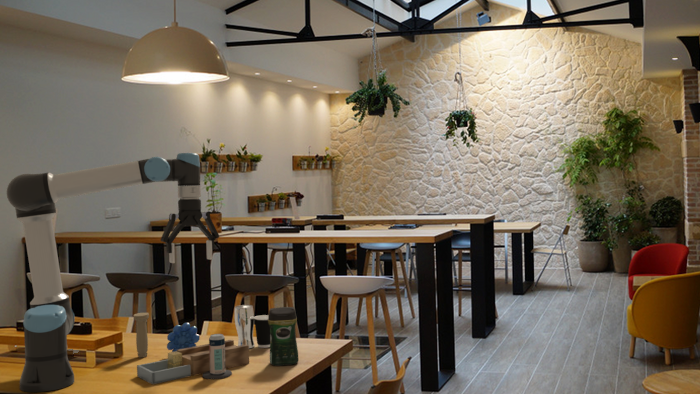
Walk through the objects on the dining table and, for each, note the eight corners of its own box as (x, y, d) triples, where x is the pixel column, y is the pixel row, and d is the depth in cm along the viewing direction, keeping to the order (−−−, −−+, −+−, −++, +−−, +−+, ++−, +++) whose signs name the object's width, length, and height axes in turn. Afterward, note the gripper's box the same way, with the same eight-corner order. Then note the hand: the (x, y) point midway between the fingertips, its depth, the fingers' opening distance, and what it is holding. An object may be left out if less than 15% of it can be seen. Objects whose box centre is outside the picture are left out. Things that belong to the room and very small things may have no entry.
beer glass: (234, 346, 246) (231, 306, 245) (252, 343, 249) (249, 303, 248) (239, 350, 239) (237, 309, 239) (258, 347, 242) (255, 306, 242)
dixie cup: (279, 346, 244) (279, 317, 244) (261, 349, 239) (260, 319, 239) (267, 342, 250) (267, 314, 250) (249, 346, 245) (249, 316, 245)
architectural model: (68, 360, 235) (67, 339, 234) (67, 355, 241) (67, 335, 241) (79, 358, 236) (78, 337, 236) (78, 354, 242) (77, 334, 242)
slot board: (193, 375, 209) (193, 356, 209) (177, 368, 218) (176, 349, 218) (249, 363, 222) (248, 345, 221) (231, 356, 231) (230, 339, 231)
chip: (182, 372, 210) (173, 374, 208) (176, 370, 213) (167, 372, 211) (182, 363, 210) (173, 365, 208) (176, 360, 213) (167, 362, 211)
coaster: (211, 381, 202) (210, 379, 202) (197, 375, 209) (197, 373, 209) (237, 375, 208) (237, 373, 208) (223, 369, 215) (223, 367, 215)
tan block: (173, 364, 209) (173, 355, 209) (167, 362, 212) (167, 352, 212) (182, 362, 211) (181, 353, 211) (176, 360, 214) (176, 351, 214)
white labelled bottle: (219, 370, 212) (218, 332, 212) (228, 372, 209) (227, 334, 208) (206, 373, 208) (205, 335, 208) (216, 376, 205) (215, 337, 205)
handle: (152, 354, 238) (150, 312, 237) (146, 359, 231) (145, 316, 231) (138, 354, 238) (137, 312, 237) (132, 359, 231) (131, 316, 231)
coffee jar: (297, 359, 225) (296, 304, 225) (299, 365, 217) (297, 308, 217) (269, 361, 224) (267, 306, 224) (269, 367, 216) (267, 310, 216)
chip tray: (152, 384, 200) (152, 372, 200) (137, 376, 210) (136, 365, 210) (190, 376, 208) (190, 364, 208) (174, 368, 217) (174, 358, 217)
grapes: (203, 353, 237) (202, 319, 237) (198, 358, 230) (197, 323, 230) (170, 354, 237) (169, 320, 237) (165, 359, 231) (163, 324, 230)
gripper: (158, 199, 215) (160, 265, 216) (227, 197, 231) (229, 258, 231) (149, 199, 221) (151, 263, 221) (217, 197, 236) (219, 257, 237)
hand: (191, 261), depth 226 cm, fingers open, 13 cm apart
